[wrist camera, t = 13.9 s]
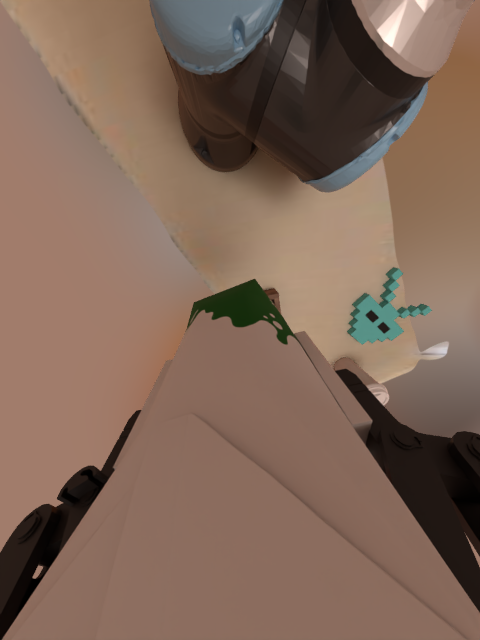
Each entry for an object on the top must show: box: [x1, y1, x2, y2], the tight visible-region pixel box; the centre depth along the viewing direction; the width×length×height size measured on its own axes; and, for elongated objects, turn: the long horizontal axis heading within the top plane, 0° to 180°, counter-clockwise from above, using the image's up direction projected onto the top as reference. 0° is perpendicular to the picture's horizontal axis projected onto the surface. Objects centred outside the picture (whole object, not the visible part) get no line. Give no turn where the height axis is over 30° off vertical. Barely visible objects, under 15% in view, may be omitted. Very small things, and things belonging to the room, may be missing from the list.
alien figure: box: [347, 268, 432, 345], centre depth 51 cm, size 20×2×20 cm
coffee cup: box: [334, 358, 389, 406], centre depth 54 cm, size 10×10×15 cm
